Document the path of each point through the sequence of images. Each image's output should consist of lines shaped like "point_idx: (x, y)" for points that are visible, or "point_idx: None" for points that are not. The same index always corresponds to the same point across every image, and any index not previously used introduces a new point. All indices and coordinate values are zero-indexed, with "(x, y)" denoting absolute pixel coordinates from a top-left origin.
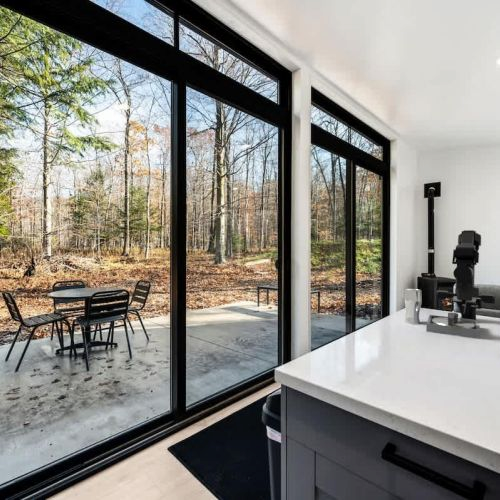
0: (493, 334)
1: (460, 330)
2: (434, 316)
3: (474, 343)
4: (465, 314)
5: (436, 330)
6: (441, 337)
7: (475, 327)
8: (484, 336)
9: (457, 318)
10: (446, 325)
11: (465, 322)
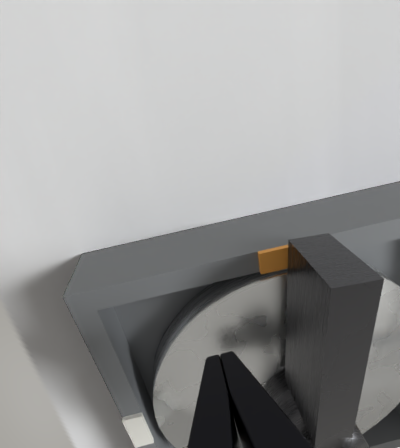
0: (65, 405)
1: (217, 247)
2: (397, 433)
3: (67, 77)
4: (209, 409)
5: (374, 197)
6: (325, 71)
7: None
8: None
9: None
10: None
11: None
